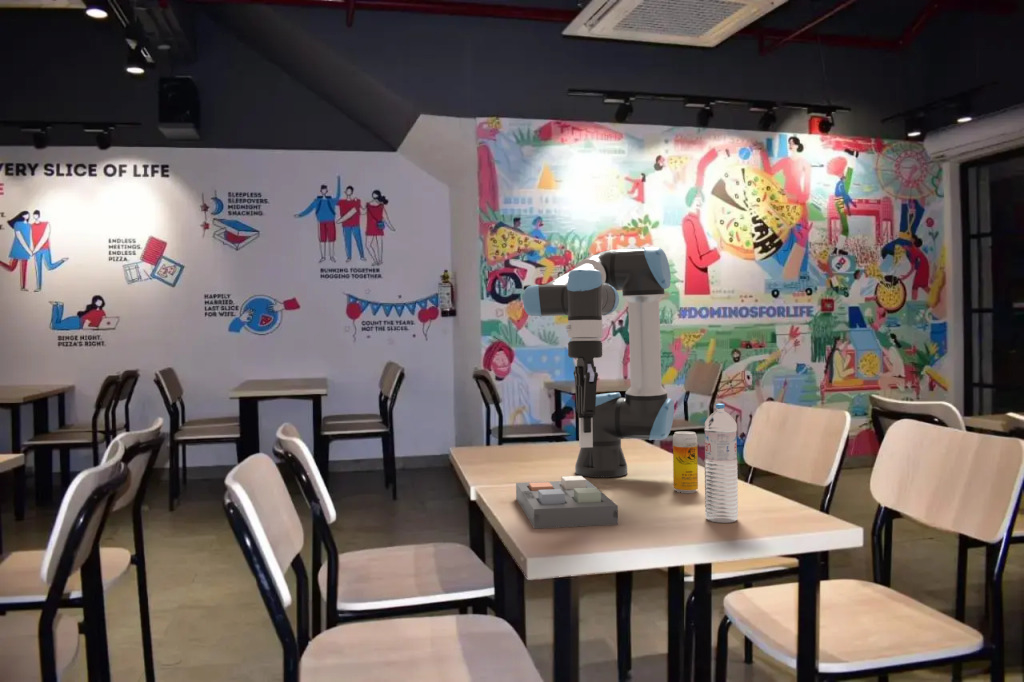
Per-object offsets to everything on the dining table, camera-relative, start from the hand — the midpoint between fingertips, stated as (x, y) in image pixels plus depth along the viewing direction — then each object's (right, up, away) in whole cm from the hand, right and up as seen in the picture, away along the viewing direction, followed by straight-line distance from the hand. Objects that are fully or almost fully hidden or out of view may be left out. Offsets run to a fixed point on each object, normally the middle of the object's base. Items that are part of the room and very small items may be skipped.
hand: (585, 446), depth 159 cm
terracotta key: (-9, -14, +13) cm, 21 cm away
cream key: (-1, -13, +14) cm, 19 cm away
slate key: (-8, -13, -1) cm, 15 cm away
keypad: (-5, -16, +7) cm, 18 cm away
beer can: (+28, -15, +26) cm, 41 cm away
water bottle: (+29, -16, -3) cm, 33 cm away
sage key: (0, -13, 0) cm, 13 cm away
